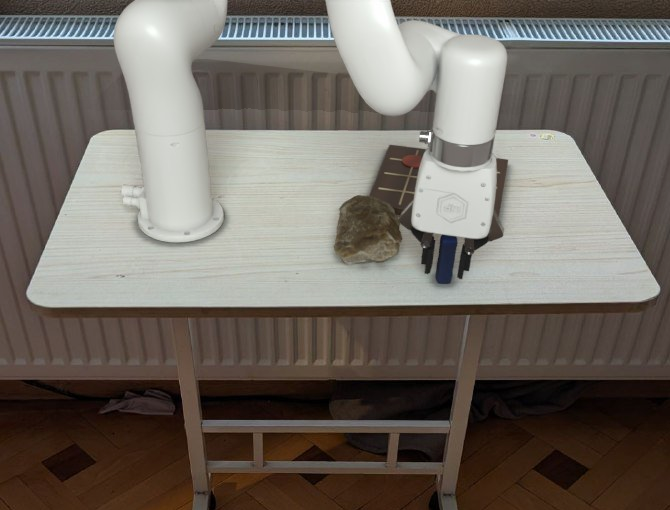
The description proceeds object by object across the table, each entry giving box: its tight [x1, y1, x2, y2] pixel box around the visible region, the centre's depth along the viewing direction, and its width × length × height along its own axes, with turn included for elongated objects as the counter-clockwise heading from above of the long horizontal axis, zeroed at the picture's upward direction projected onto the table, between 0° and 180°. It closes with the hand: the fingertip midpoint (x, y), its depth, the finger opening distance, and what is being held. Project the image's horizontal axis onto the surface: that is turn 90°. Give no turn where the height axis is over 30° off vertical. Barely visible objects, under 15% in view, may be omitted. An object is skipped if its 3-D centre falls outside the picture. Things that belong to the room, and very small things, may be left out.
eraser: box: [435, 235, 458, 285], centre depth 112 cm, size 2×2×7 cm
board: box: [368, 144, 509, 219], centre depth 132 cm, size 20×20×1 cm
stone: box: [333, 194, 403, 266], centre depth 118 cm, size 13×8×8 cm
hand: (444, 269), depth 113 cm, fingers open, 3 cm apart
